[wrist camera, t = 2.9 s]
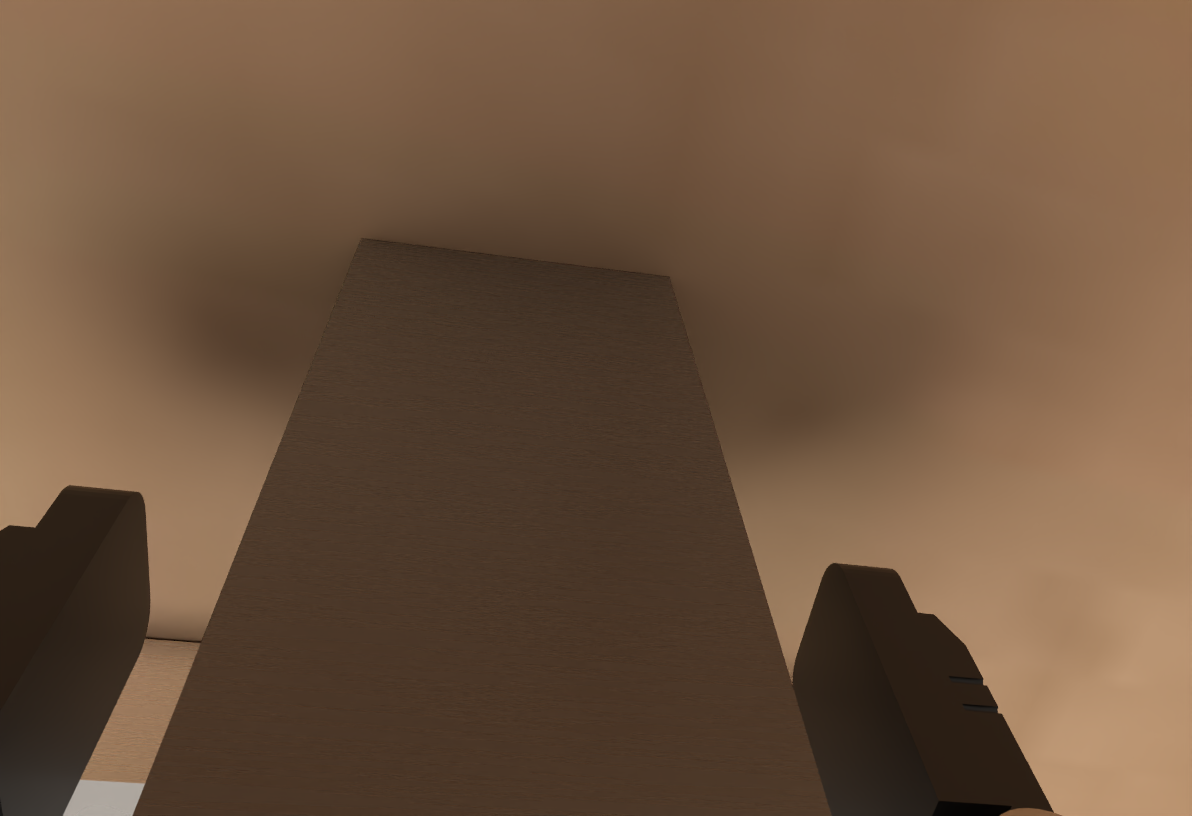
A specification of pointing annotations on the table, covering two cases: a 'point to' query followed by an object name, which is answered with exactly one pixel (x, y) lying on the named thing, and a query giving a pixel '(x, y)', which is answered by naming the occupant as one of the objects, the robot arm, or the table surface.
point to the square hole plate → (134, 731)
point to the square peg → (492, 572)
